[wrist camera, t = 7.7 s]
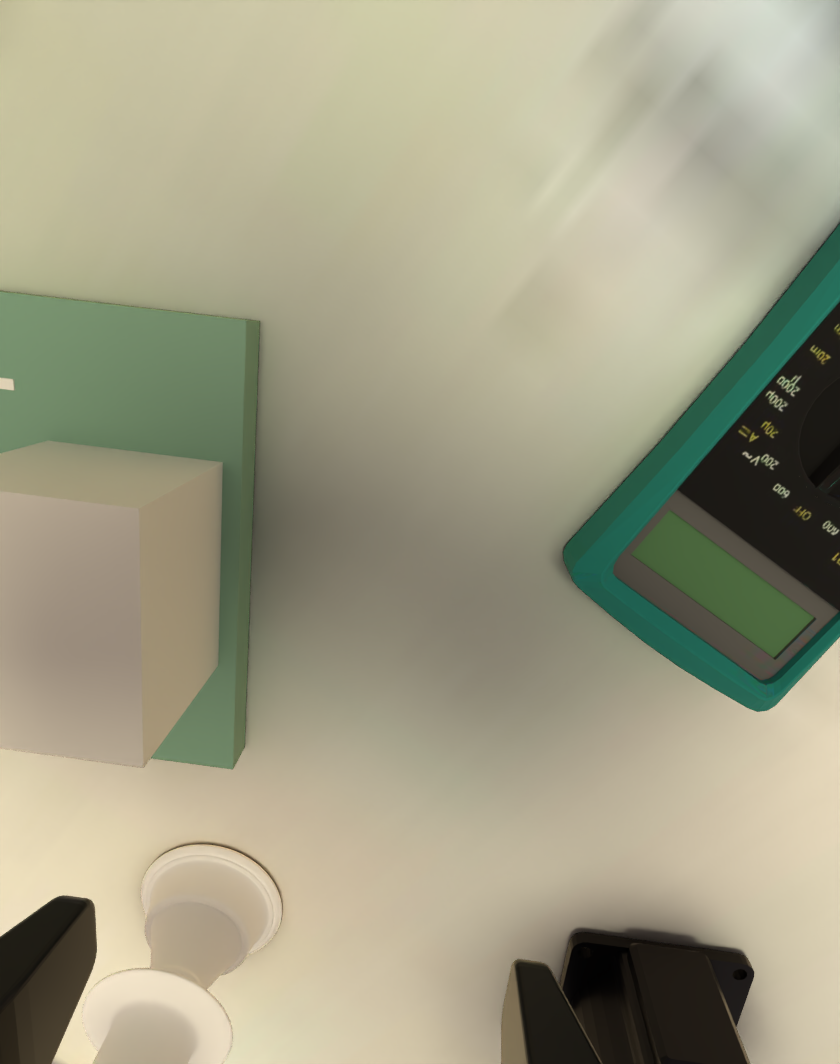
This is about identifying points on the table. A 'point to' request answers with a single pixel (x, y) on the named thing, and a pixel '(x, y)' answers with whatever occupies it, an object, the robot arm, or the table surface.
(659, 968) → the robot arm
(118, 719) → the block
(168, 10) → the table surface
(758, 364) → the digital multimeter
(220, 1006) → the candle
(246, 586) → the header board
